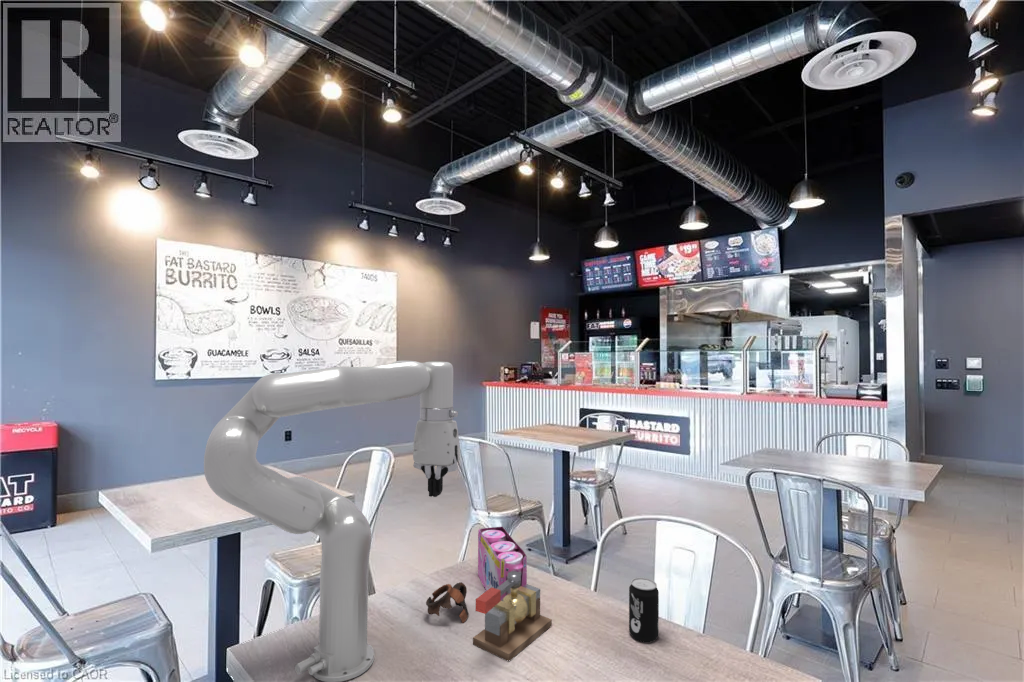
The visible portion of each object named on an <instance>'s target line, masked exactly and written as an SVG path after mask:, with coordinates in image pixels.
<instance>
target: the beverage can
mask: <svg viewBox="0 0 1024 682" xmlns="http://www.w3.org/2000/svg"><path fill="white" fill-rule="evenodd" d="M628 590H629V591H628V594H629V595H628V632H629V634H630V635H631V636H632V638H633V639H634V640H636V641H638V642H640V643H645V644H646V643H647V644H649V643H653V642H656V640H657V638H659V635H660V633H659V632H660V631H659V625H660V624H659V622H660V620H659V619H660V618H659V615H660V613H659V608H660V607H659V606H660V605H659V601H660V600H659V597H660V596H659V589H658V586H657V583H656V581H655V580H653V579H650V578H647V577H635V578H632V579H631V581H630V584H629V588H628Z"/></svg>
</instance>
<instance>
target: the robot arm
mask: <svg viewBox="0 0 1024 682" xmlns="http://www.w3.org/2000/svg"><path fill="white" fill-rule="evenodd" d="M416 396H417V397H418V396H419V420H417V422H416V424H415V430H414V436H413V444H412V445H413V447H412V448H413V449H412V460H413V468H415V469H418V470H420V471H422V472H423V474H424V475H425V478H426V479H427V492H428V496H429V497H431V498H432V497H433V498H437V497H438V496H440V495H441V494H442V492H443V488H444V487H443V484H444V479H443V478H444V477H445V475H446V474H447V475H448V473H451V472H455V471H457V470H458V469H459V465H458V462H459V461H460V456H461V454H460V453H461V452H460V450H461V449H460V438H459V437H460V436H459V429H458V423H457V421H456V420H453V419H454V418H458V416H459V411H458V410H454V366H453V364H452V363H450V362H449V361H426V362H419V361H415V360H397V361H394V362H392V363H390V364H383V365H374V366H331V367H325V368H319V369H310V370H304V371H302V370H301V371H296V372H287V373H270V374H266V375H264V376H261V378H260V377H259V379H258V380H257V381H256V382H255V383H254V384H253V386H251V388H250V389H249V390H248V391H247V392H246V394H244V395H243V396H242V398H240V400H238V401H237V402H236V403H235V405H234V406H233V407H232V408H230V410H229V411H228V412H227V413H225V415H224V416H223V417H222V418H221V419H220V420H219V421H218V422H217V423H216V425H215V426H214V427H213V428H212V430H211V432H210V435H209V436H208V439H207V441H206V445H205V450H204V455H203V456H204V457H203V472H204V473H203V474H204V477H205V480H206V482H207V485H208V486H209V488H210V489H211V490H212V492H213V493H214V494H215V495H217V496H218V497H219V498H220V499H222V501H225V502H226V503H228V504H230V505H232V506H234V507H236V508H238V509H241V510H243V511H245V512H247V513H249V514H250V515H252V516H254V517H257V518H258V519H261V520H263V521H264V522H265V523H269V524H271V525H273V526H275V527H277V528H278V529H280V530H283V531H284V532H286V533H289V534H293V535H304V534H307V533H313V534H314V535H316V536H318V537H319V540H320V542H321V561H320V562H321V563H320V572H319V618H318V620H319V621H318V622H319V625H318V644H317V645H316V646H314V647H313V653H312V654H310V655H309V657H308V658H306V659H304V660H302V661H300V662H298V663H296V664H295V665H294V669H295V673H296V674H297V675H302V674H303V673H305V672H306V671H307V672H308V674H309V675H310V676H312V677H314V678H315V679H316V680H318V681H320V682H345V681H349V680H352V679H355V678H357V677H359V676H360V675H362V674H363V673H365V672H366V671H367V670H369V668H370V667H371V666H372V665H373V663H374V660H375V649H374V648H373V646H372V645H371V644H369V643H368V616H369V615H368V611H369V610H368V608H369V607H368V605H369V603H368V602H369V562H370V554H371V553H370V552H371V546H372V529H371V526H370V523H369V521H368V519H367V518H366V515H364V513H363V512H362V510H360V509H359V507H358V506H357V504H356V503H354V501H352V500H351V499H349V498H347V497H345V496H343V495H341V494H339V493H338V492H336V491H334V490H332V489H330V488H328V487H326V486H324V485H323V484H320V483H318V482H316V481H315V480H313V479H310V478H308V477H304V476H292V477H289V478H288V477H286V476H285V475H282V474H280V473H278V472H277V471H275V470H274V469H272V468H269V467H266V466H264V465H263V464H261V463H260V461H258V459H257V451H258V447H259V441H260V440H261V439H262V438H263V436H265V435H266V434H267V432H269V430H270V429H271V428H272V427H273V426H274V424H275V423H276V422H277V421H278V420H279V419H280V418H285V417H290V416H295V415H296V416H297V415H301V414H303V415H304V414H307V413H313V412H314V413H315V412H319V411H325V410H326V411H327V410H332V409H339V408H344V407H345V408H347V407H356V406H361V405H367V404H375V403H383V402H391V401H396V400H402V399H408V398H409V399H410V398H413V397H416Z"/></svg>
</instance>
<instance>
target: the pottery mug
mask: <svg viewBox="0 0 1024 682" xmlns="http://www.w3.org/2000/svg"><path fill="white" fill-rule="evenodd" d="M467 592H468V591H467V586H466V584H465V583H464V582H461V581H460V582H457V583H456V584H454V585H453V586H452V584H450V583H446V584H443V585H442V586H440V587H438V588H437V589H436V590H434V591H433V592H432V593H431V595H432V597H431V596H429V597H428V598H427V600H426V602H425V604H426V606H427V614H428V615H431V616H433V615H436V616H438V617H440V612H441V611H440V610H441V608H443V609H447V610H450V609H452V608H453V606H452V604H451V601H452V600H453V601H454V603H455V605H456V606H457V607H458V606H459V607H462V611H461V612H460V614H458V615H459V616H458V617H459V618H460V622H461V623H462V624H464V623H465V622H466V621H467V619H468V618H469V615H470V614H469V611H468V606H467V604H466V603H467V602H466V598H467ZM442 594H443V596H441V595H442ZM440 596H441V597H440ZM439 597H440V598H439ZM437 598H439V599H437ZM436 599H437V600H436ZM451 599H452V600H451ZM435 600H436V601H435Z"/></svg>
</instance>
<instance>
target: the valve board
mask: <svg viewBox="0 0 1024 682" xmlns="http://www.w3.org/2000/svg"><path fill="white" fill-rule="evenodd" d="M552 622H553V620H552V618H549V617H546V616H544V615H541V597H540V598H539V599H537V600H536V614H535V615H534V616H532V617H528V616H526V617H525V619H524V620H523V621H522V622H520V623H518V624H515V630H514V631H512V632H511V633H510V634H508V621H506V622H505V623H504V624H502V625H501V626H500V636H498V635H496V634H494V633H491V632H489V631H487V630H485V628H484V629H483V630H481V631H480V632H478V633H477V634H475V636H472V645H474V646H475V647H477V648H480V649H482V650H484V651H486V652H488V653H491V654H492V655H495V656H497V657H499V658H501V659H502V658H503V659H502V660H504V661H507V660H508V661H507V662H510V661H511V660H513V657H514V658H515V657H516V656H517V655H518V654H520V653H521V652H522V651H523V650H525V649H526V648H527V647H528V646H529V645H531V643H532V644H533V642H534V641H536V640H537V639H538V638H539V637H540V636H541V635H542V634H544V633H545V632H546V631H547V630H549V629H550V628H551V627H552V626H553V624H552ZM509 660H510V661H509Z"/></svg>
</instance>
